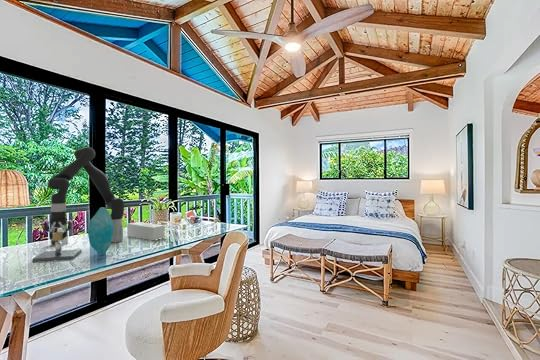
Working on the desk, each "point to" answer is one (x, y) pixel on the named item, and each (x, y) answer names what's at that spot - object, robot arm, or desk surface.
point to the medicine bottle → (60, 240)
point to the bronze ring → (57, 236)
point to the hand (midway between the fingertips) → (58, 237)
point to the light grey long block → (145, 230)
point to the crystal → (101, 231)
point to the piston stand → (57, 254)
